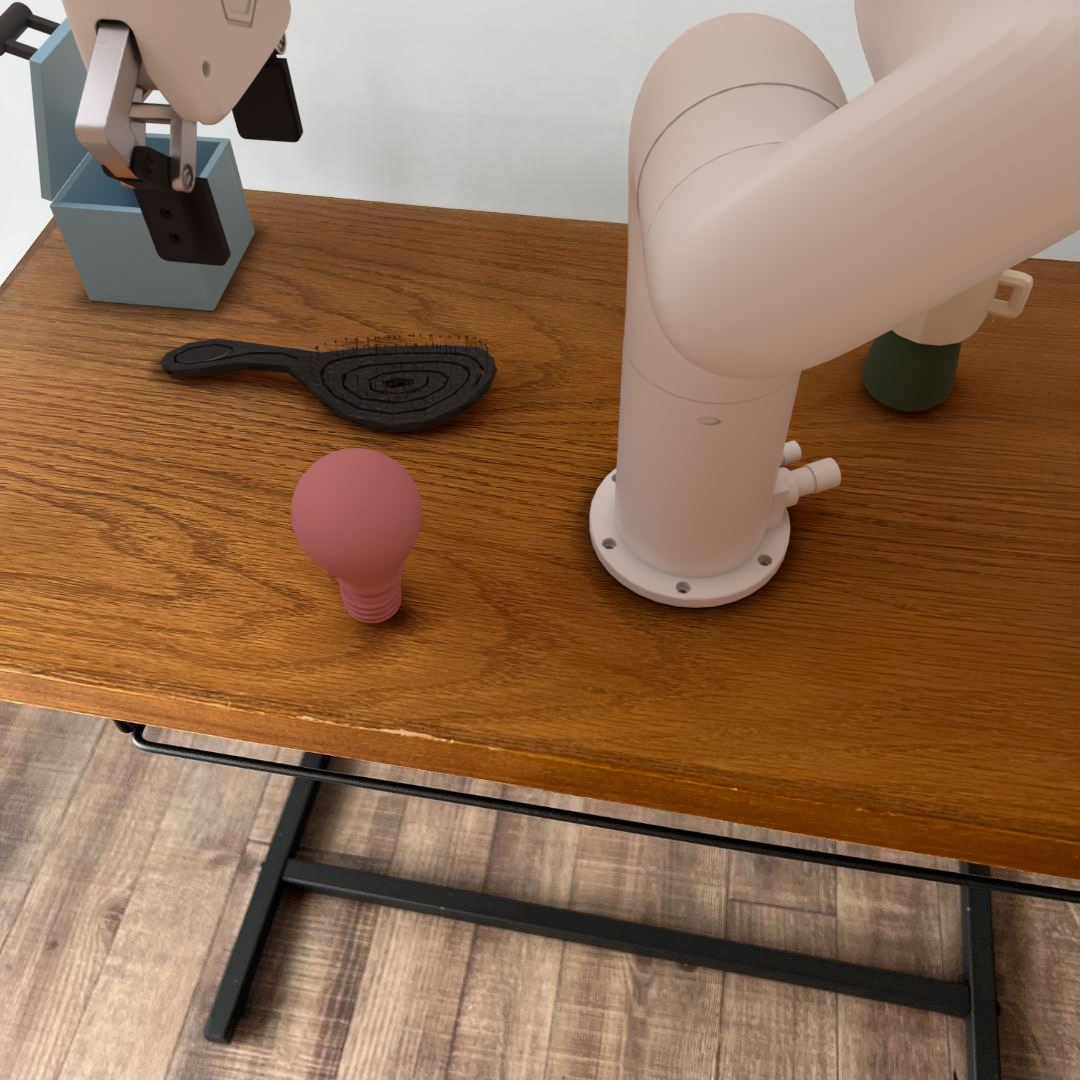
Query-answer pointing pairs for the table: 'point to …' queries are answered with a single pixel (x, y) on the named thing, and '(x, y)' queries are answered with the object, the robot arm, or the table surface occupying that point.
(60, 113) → the lid
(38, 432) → the table surface
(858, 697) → the table surface
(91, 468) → the table surface
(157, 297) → the box
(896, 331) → the cream handled cup
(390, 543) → the light bulb
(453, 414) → the hairbrush
